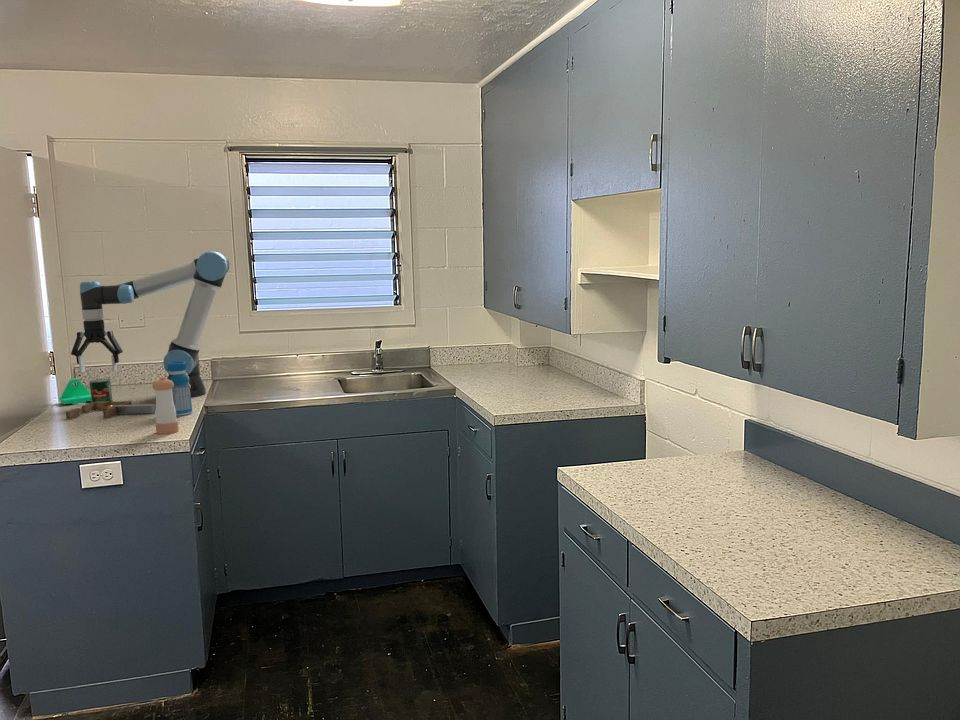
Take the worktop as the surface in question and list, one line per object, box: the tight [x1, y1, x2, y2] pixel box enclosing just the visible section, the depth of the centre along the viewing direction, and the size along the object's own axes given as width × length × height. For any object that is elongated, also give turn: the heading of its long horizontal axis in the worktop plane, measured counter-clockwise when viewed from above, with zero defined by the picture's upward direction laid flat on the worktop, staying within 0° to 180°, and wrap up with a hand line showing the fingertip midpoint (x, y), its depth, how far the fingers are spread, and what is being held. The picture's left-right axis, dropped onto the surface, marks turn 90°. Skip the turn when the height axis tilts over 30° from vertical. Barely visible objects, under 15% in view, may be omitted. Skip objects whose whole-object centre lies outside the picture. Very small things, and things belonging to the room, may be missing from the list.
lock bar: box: [107, 403, 156, 415], centre depth 310 cm, size 18×3×3 cm, turn 88°
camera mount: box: [59, 377, 92, 405], centre depth 336 cm, size 12×8×10 cm, turn 128°
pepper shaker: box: [151, 377, 180, 435], centre depth 276 cm, size 7×7×19 cm
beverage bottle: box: [166, 361, 193, 417], centre depth 305 cm, size 8×8×20 cm
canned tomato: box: [88, 378, 114, 402], centre depth 327 cm, size 8×8×11 cm
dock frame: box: [65, 400, 133, 420], centre depth 312 cm, size 16×20×3 cm
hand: (98, 371), depth 325 cm, fingers open, 13 cm apart
